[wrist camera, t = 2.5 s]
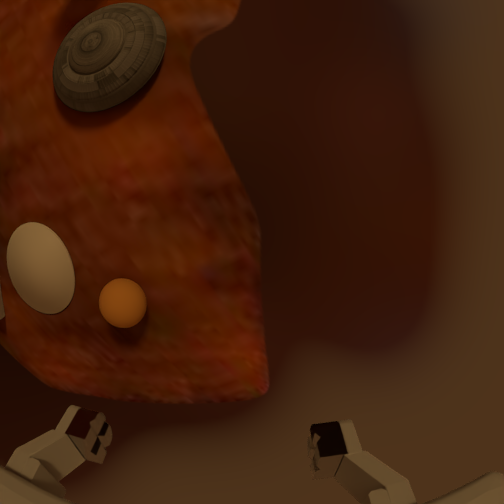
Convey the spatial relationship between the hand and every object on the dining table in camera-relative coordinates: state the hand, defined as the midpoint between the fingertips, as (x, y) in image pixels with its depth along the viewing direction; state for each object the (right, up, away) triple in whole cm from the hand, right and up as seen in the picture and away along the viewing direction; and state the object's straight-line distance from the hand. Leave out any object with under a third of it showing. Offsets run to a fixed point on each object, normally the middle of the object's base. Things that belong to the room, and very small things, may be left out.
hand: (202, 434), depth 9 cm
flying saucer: (-15, +30, +16) cm, 37 cm away
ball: (-13, +1, +21) cm, 24 cm away
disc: (-27, +4, +22) cm, 35 cm away
